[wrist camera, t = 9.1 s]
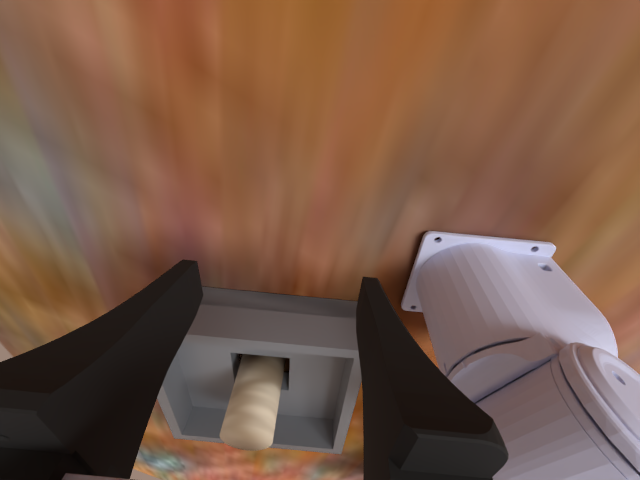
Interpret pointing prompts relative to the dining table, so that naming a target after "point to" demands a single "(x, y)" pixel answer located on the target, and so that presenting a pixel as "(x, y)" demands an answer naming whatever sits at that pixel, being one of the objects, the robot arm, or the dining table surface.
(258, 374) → the peg
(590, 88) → the dining table surface
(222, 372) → the box
